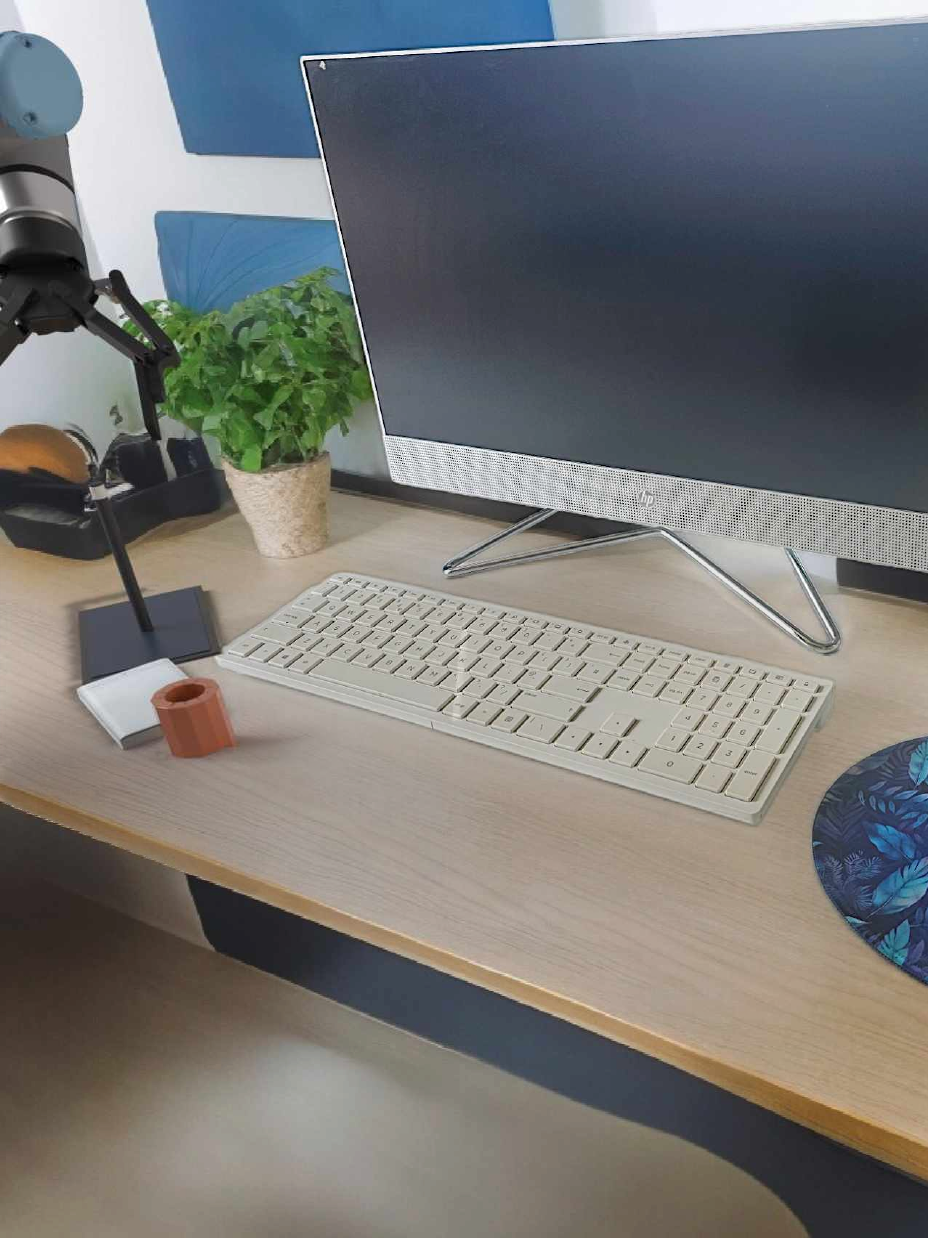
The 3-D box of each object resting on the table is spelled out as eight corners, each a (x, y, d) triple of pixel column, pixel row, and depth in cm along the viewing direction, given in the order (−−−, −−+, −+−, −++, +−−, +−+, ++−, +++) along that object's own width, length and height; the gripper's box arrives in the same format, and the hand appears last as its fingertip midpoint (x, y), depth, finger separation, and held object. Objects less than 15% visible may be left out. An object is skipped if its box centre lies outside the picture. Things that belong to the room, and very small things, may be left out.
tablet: (222, 657, 113) (220, 650, 113) (84, 691, 109) (81, 683, 108) (202, 590, 127) (200, 583, 127) (79, 617, 123) (77, 610, 122)
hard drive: (217, 702, 102) (167, 655, 111) (118, 738, 98) (74, 686, 106) (222, 719, 103) (172, 670, 111) (125, 755, 99) (80, 702, 107)
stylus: (138, 632, 117) (86, 485, 109) (141, 627, 118) (90, 481, 110) (151, 631, 117) (100, 484, 109) (154, 625, 118) (104, 479, 110)
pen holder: (167, 776, 96) (143, 711, 92) (182, 744, 100) (160, 681, 97) (231, 768, 96) (210, 704, 93) (243, 736, 100) (223, 674, 97)
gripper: (191, 252, 117) (228, 444, 113) (-94, 280, 111) (-66, 485, 107) (171, 199, 110) (210, 403, 106) (-135, 226, 104) (-106, 443, 100)
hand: (71, 444), depth 106 cm, fingers open, 13 cm apart
